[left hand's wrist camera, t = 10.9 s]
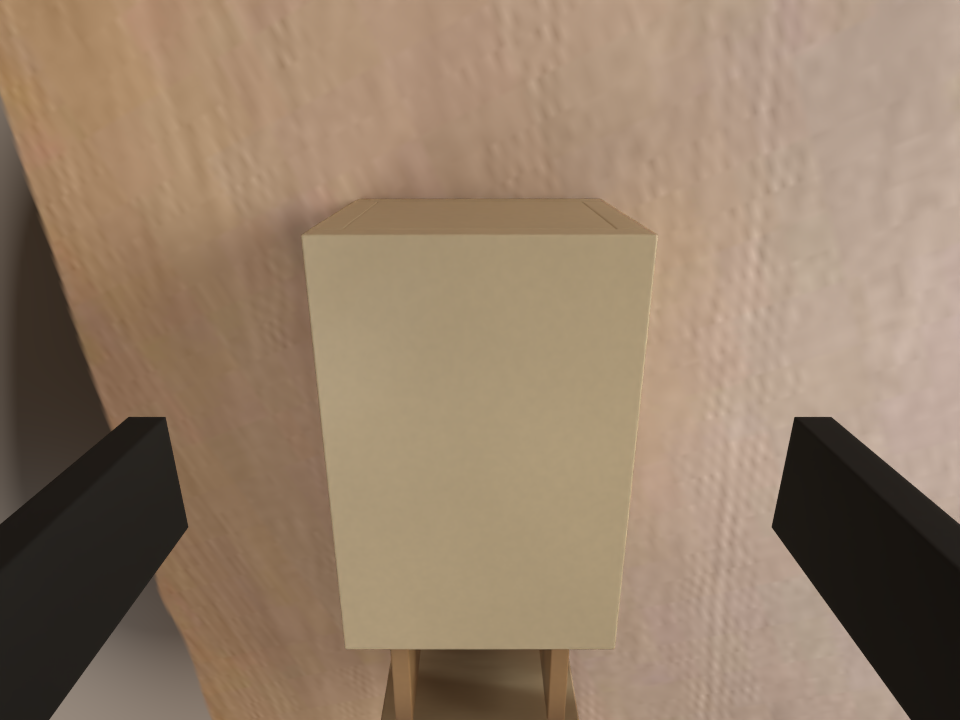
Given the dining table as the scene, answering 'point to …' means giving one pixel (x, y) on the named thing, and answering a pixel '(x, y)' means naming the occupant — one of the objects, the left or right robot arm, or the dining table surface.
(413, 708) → the drawer
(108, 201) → the dining table surface
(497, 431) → the cabinet
